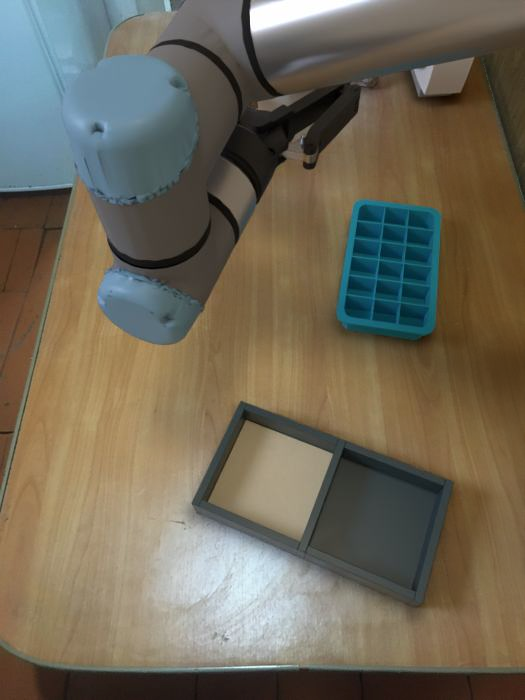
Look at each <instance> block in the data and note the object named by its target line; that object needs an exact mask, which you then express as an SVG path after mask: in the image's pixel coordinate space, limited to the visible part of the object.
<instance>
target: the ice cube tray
mask: <svg viewBox="0 0 525 700" xmlns="http://www.w3.org/2000/svg"><path fill="white" fill-rule="evenodd" d="M441 227H442V214H441V213H440V211H439V210H438V209H436V208H434V207H431V206H421V205H413V204H408V203H407V204H406V203H397V202H389V201H382V200H374V199H366V198H362V199H358V200H356V201H355V202H354V203H353V205H352V211H351V217H350V224H349V231H348V237H347V243H346V248H345V256H344V262H343V269H342V273H341V281H340V282H341V283H340V287H339V294H338V299H337V306H336V312H335V314H336V317H337V320H338V321H339V322H341V323H342V327H343V328H344V329H346V331H353V332H359V333H366V334H373V335H379V336H386V337H391V338H398V339H405V340H410V341H411V340H412V341H417V340H419V339H421V337H422V336H423V337H425V336H428V335H431V334H432V333H433V332H434V330H435V328H436V321H437V319H436V318H437V302H438V301H437V300H438V284H439V282H438V281H439V265H440V263H439V262H440V247H441V244H440V243H441Z"/></svg>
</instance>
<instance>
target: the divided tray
mask: <svg viewBox="0 0 525 700" xmlns="http://www.w3.org/2000/svg"><path fill="white" fill-rule="evenodd" d="M454 485H455V482H454V481H453V480H450V479H448V478H445V477H443V476H440V475H436V474H435V473H432V472H429V471H426V470H424V469H422V468H419V467H416V466H413V465H411V464H409V463H405V462H403V461H400V460H398V459H395V458H393V457H390V456H387V455H386V454H385V455H384V454H382V453H380V452H377V451H374V450H371V449H370V448H369V449H368V448H366V447H363V446H361V445H358V444H355V443H353V442H350V441H348V440H345V439H343V438H340V437H338V436H335V435H333V434H329V433H327V432H324V431H322V430H319V429H317V428H314V427H311V426H309V425H306V424H303V423H301V422H299V421H296V420H293V419H291V418H288V417H285V416H283V415H281V414H277V413H275V412H272V411H270V410H267V409H264V408H262V407H259V406H256V405H254V404H251V403H249V402H245V401H243V400H240V401H239V403H238V406H237V408H236V410H235V412H234V414H233V415H232V418H231V420H230V422H229V424H228V426H227V428H226V430H225V433H223V437H222V438H221V440H220V443H219V445H218V446H217V448H216V451H215V453H214V455H213V457H212V460H211V461H210V463H209V466H208V467H207V469H206V472H205V474H204V476H203V478H202V480H201V481H200V483H199V486H198V489H197V490H196V493H195V494H194V497H193V499H192V501H191V503H190V504H191V506H192V507H193V510H194V511H195V513H196V514H199V515H202V516H203V517H206V518H208V519H210V520H213V521H215V522H217V523H219V524H222V525H224V526H227V527H229V528H231V529H233V530H236V531H238V532H240V533H243V534H245V535H248V536H249V537H252V538H254V539H256V540H259V541H261V542H263V543H265V544H268V545H270V546H273V547H275V548H276V549H279V550H282V551H284V552H285V553H289V554H291V555H293V556H295V557H296V558H299V559H303V560H305V561H307V562H309V563H311V564H314V565H317V566H318V567H320V568H322V569H325V570H327V571H330V572H332V573H334V574H336V575H339V576H341V577H343V578H346V579H347V580H350V581H352V582H355V583H356V584H360V585H361V586H364V587H367V588H369V589H371V590H373V591H376V592H377V593H379V594H382V595H384V596H387V597H389V598H391V599H394V600H395V601H398V602H401V603H402V604H406V605H407V606H410V607H412V608H415V607H419V606H421V605H423V604H424V600H425V596H426V592H427V589H428V584H429V581H430V576H431V573H432V569H433V566H434V561H435V557H436V554H437V550H438V546H439V542H440V537H441V534H442V532H443V531H442V530H443V526H444V523H445V519H446V515H447V511H448V508H449V507H448V506H449V503H450V501H451V496H452V492H453V487H454Z"/></svg>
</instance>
